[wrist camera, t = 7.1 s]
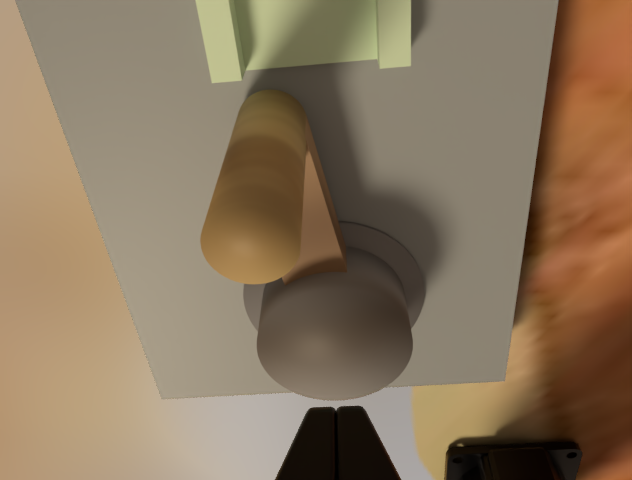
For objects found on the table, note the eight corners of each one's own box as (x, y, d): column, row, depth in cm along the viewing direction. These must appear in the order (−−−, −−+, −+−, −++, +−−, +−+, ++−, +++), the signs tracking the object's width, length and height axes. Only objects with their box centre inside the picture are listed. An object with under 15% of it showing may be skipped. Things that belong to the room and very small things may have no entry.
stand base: (492, 345, 25) (511, 401, 22) (172, 363, 26) (156, 419, 23) (542, -78, 16) (583, -62, 13) (41, -28, 16) (-8, -4, 14)
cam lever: (416, 339, 21) (444, 491, 16) (286, 363, 22) (275, 515, 17) (349, 67, 15) (361, 173, 11) (177, 113, 16) (114, 232, 11)
